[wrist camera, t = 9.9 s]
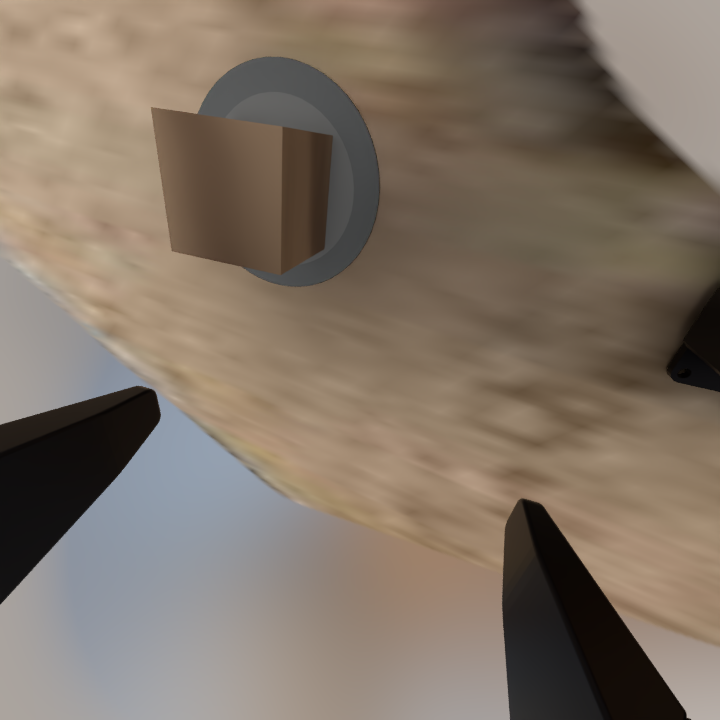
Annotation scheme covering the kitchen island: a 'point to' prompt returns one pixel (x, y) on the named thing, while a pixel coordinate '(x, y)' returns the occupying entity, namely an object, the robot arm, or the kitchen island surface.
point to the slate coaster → (315, 114)
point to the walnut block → (243, 189)
